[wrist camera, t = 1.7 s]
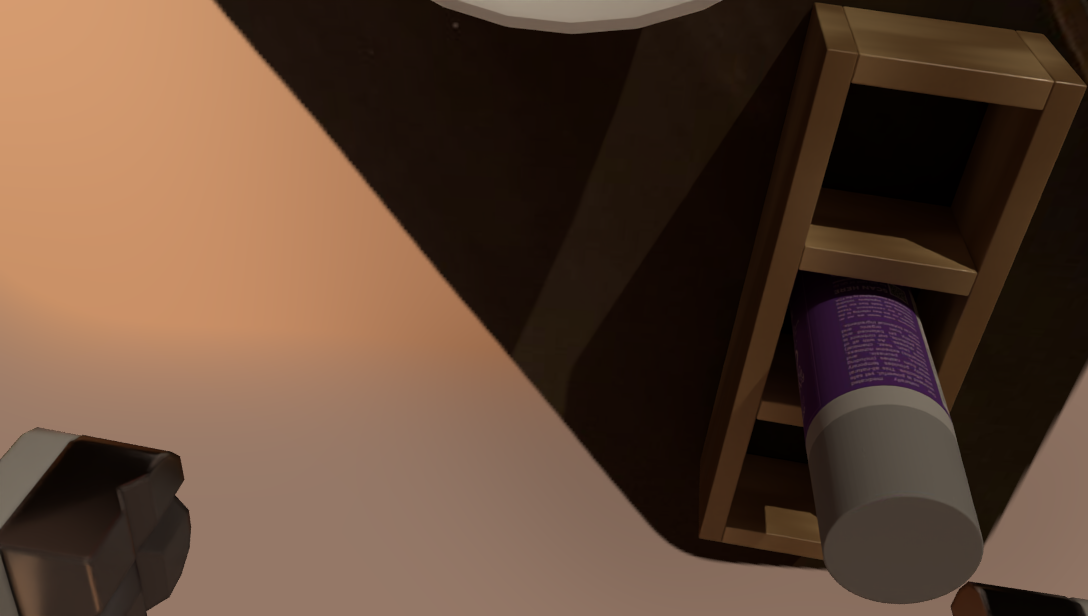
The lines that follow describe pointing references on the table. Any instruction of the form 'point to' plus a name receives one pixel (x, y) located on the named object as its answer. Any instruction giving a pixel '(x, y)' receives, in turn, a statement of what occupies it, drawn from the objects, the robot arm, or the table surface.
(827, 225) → the rack
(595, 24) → the bowl
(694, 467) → the table surface
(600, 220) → the table surface
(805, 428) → the container
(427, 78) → the table surface
